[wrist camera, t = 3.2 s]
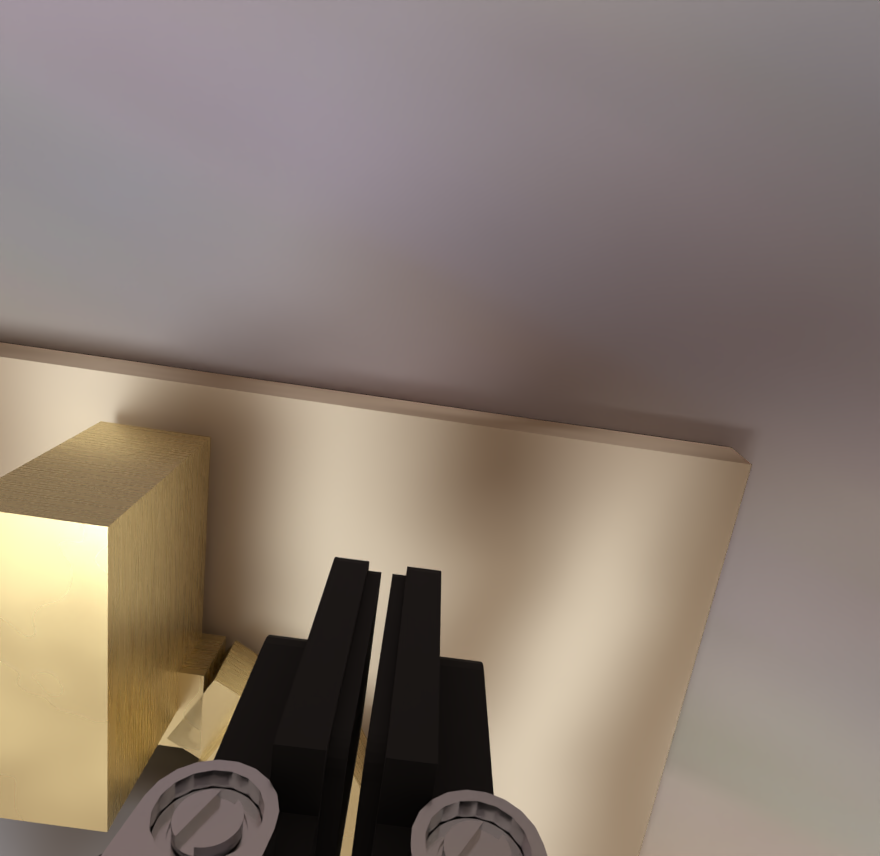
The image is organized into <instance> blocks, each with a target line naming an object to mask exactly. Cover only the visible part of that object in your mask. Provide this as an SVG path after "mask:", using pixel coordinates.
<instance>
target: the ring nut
mask: <svg viewBox="0 0 880 856" xmlns="http://www.w3.org/2000/svg"><path fill="white" fill-rule="evenodd" d="M210 452H211V437H208V436H201V435H194V434H187V433H180V432H173V431H166V430H159V429H152V428H145V427H138V426H131V425H124V424H117V423H110V422H103V421H100V422H99V423H97V424H95V425H93V426H91V427H90V428H88V429H86V430H84V431H82V432H81V433H79V434H77V435H75V436H74V437H72V438H70V439H68V440H66V441H65V442H63V443H61V444H59V445H57V446H56V447H54V448H52V449H50V450H49V451H47V452H45V453H43V454H41V455H40V456H38V457H36V458H34V459H32V460H31V461H29V462H27V463H25V464H24V465H22V466H20V467H18V468H16V469H15V470H13V471H11V472H9V473H7V474H6V475H4V476H2V477H0V818H5V819H12V820H20V821H27V822H35V823H42V824H50V825H57V826H64V827H72V828H79V829H87V830H94V831H102V832H108V830H109V828H110V827H111V825H112V823H113V822H114V820H115V818H116V816H117V815H118V813H119V811H120V809H121V808H122V806H123V804H124V802H125V801H126V799H127V797H128V795H129V794H130V792H131V790H132V789H133V787H134V785H135V783H136V782H137V780H138V778H139V776H140V775H141V773H142V771H143V769H144V768H145V766H146V764H147V763H148V761H149V759H150V757H151V756H152V754H153V752H154V750H155V749H156V747H157V745H164V746H171V747H179V748H183V749H185V750H186V751H188V752H190V753H191V754H193V755H194V756H196V757H198V758H199V760H198V762H203V761H211V760H214V758H215V755H216V753H217V751H218V748H219V746H220V744H221V741H222V739H223V737H224V734H225V732H226V730H227V727H228V725H229V723H230V720H231V718H232V716H233V713H234V711H235V709H236V706H237V704H238V702H239V699H240V697H241V695H242V692H243V690H244V687H245V685H246V683H247V680H248V678H249V676H250V673H251V671H252V669H253V666H254V664H255V662H256V659H257V657H258V654H256V653H255V652H253V651H252V650H250V649H249V648H247V647H246V646H244V645H243V644H241V643H240V642H238V641H237V640H235V642H234V643H233V644H232V645H231V647H230V648H229V649H228V650H227V652H226V653H225V648H226V636H220V635H213V634H205V633H202V621H203V600H204V579H205V558H206V537H207V515H208V494H209V473H210ZM366 744H367V737H366V735H365V733H364V731H363V729H362V727H361V733H360V740H359V746H358V752H357V758H356V764H355V770H354V775H353V781H352V787H351V793H350V799H349V805H348V811H347V817H346V823H345V829H344V835H343V841H342V847H341V853H340V856H351V854H352V847H353V839H354V832H355V825H356V817H357V810H358V802H359V795H360V787H361V780H362V772H363V765H364V758H365V751H366Z"/></svg>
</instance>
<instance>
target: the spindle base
mask: <svg viewBox="0 0 880 856" xmlns="http://www.w3.org/2000/svg"><path fill="white" fill-rule="evenodd" d="M100 421H103V422H110V423H117V424H124V425H131V426H138V427H145V428H152V429H159V430H166V431H173V432H180V433H187V434H194V435H201V436H208V437H211V452H210V473H209V494H208V515H207V537H206V558H205V579H204V600H203V621H202V633H205V634H213V635H220V636H226V648H225V653H226V652H227V650H228V649H229V648H230V647H231V645H232V644H233V643H234V642H235V640H237V641H238V642H240V643H241V644H243V645H244V646H246V647H247V648H249V649H250V650H252V651H253V652H255V653H256V654H258V655H259V652H260V650H261V648H262V645H263V643H264V641H265V639H266V637H267V636H268V635H277V636H285V637H293V638H300V639H308V636H309V633H310V630H311V627H312V624H313V621H314V618H315V615H316V612H317V609H318V606H319V603H320V600H321V597H322V594H323V591H324V588H325V585H326V582H327V579H328V575H329V572H330V569H331V566H332V563H333V560H334V558H335V557H340V558H348V559H356V560H363V561H369V571H376V572H382V573H381V582H380V590H379V597H378V605H377V613H376V620H375V628H374V636H373V643H372V651H371V659H370V666H369V674H368V682H367V689H366V697H365V705H364V713H363V720H362V729H363V731H364V733H365V735H366V737H367V738H368V731H369V724H370V718H371V711H372V705H373V698H374V692H375V685H376V679H377V672H378V666H379V659H380V653H381V646H382V639H383V633H384V626H385V620H386V613H387V607H388V600H389V594H390V587H391V581H392V574H399V575H406V572H407V566H409V567H416V568H424V569H432V570H439V571H441V628H440V656H441V657H449V658H457V659H465V660H473V661H481V662H482V663H483V667H484V676H485V689H486V702H487V714H488V727H489V740H490V753H491V765H492V778H493V791H494V795H495V796H497V797H500V798H502V799H505V800H506V801H508V802H509V803H511V804H512V805H514V806H515V807H517V808H518V809H519V810H521V811H522V812H523V813H524V814H525V815H526V817H527V818H528V819H529V820H530V821H531V822H532V823H533V824H534V826H535V827H536V829H537V831H538V833H539V835H540V837H541V839H542V841H543V843H544V846H545V850H546V853H547V856H639V853H640V850H641V846H642V843H643V839H644V836H645V832H646V829H647V825H648V822H649V818H650V815H651V812H652V808H653V805H654V801H655V798H656V794H657V791H658V787H659V784H660V780H661V777H662V774H663V770H664V767H665V763H666V760H667V756H668V753H669V749H670V746H671V742H672V739H673V736H674V732H675V729H676V725H677V722H678V718H679V715H680V711H681V708H682V704H683V701H684V698H685V694H686V691H687V687H688V684H689V680H690V677H691V673H692V670H693V666H694V663H695V660H696V656H697V653H698V649H699V646H700V642H701V639H702V635H703V632H704V628H705V625H706V622H707V618H708V615H709V611H710V608H711V604H712V601H713V597H714V594H715V590H716V587H717V584H718V580H719V577H720V573H721V570H722V566H723V563H724V559H725V556H726V552H727V549H728V545H729V542H730V539H731V535H732V532H733V528H734V525H735V521H736V518H737V514H738V511H739V507H740V504H741V501H742V497H743V494H744V490H745V487H746V483H747V480H748V476H749V473H750V469H751V466H752V464H750V463H749V462H748V461H747V460H746V459H745V458H743V457H742V456H741V455H740V454H739V453H737V452H736V451H735V450H734V449H733V448H731V447H724V446H717V445H710V444H703V443H696V442H689V441H682V440H675V439H668V438H662V437H655V436H648V435H641V434H634V433H627V432H620V431H613V430H606V429H599V428H592V427H585V426H578V425H571V424H564V423H557V422H550V421H543V420H537V419H530V418H523V417H516V416H509V415H502V414H495V413H488V412H481V411H474V410H467V409H460V408H453V407H446V406H439V405H432V404H425V403H418V402H411V401H405V400H398V399H391V398H384V397H377V396H370V395H363V394H356V393H349V392H342V391H335V390H328V389H321V388H314V387H307V386H300V385H293V384H286V383H280V382H273V381H266V380H259V379H252V378H245V377H238V376H231V375H224V374H217V373H210V372H203V371H196V370H189V369H182V368H175V367H168V366H161V365H155V364H148V363H141V362H134V361H127V360H120V359H113V358H106V357H99V356H92V355H85V354H78V353H71V352H64V351H57V350H50V349H43V348H36V347H30V346H23V345H16V344H9V343H2V342H0V477H2V476H4V475H6V474H7V473H9V472H11V471H13V470H15V469H16V468H18V467H20V466H22V465H24V464H25V463H27V462H29V461H31V460H32V459H34V458H36V457H38V456H40V455H41V454H43V453H45V452H47V451H49V450H50V449H52V448H54V447H56V446H57V445H59V444H61V443H63V442H65V441H66V440H68V439H70V438H72V437H74V436H75V435H77V434H79V433H81V432H82V431H84V430H86V429H88V428H90V427H91V426H93V425H95V424H97V423H99V422H100ZM198 760H199V758H198V757H196V756H194V755H193V754H191V753H190V752H188V751H186V750H185V749H183V748H179V747H171V746H164V745H157V747H156V749H155V750H154V752H153V754H152V756H151V757H150V759H149V761H148V763H147V764H146V766H145V768H144V769H143V771H142V773H141V775H140V776H139V778H138V780H137V782H136V783H135V785H134V787H133V789H132V790H131V792H130V794H129V795H128V797H127V799H126V801H125V802H124V804H123V806H122V808H121V809H120V811H119V813H118V815H117V816H116V818H115V820H114V822H113V823H112V825H111V827H110V828H109V830H108V832H102V831H94V830H87V829H79V828H72V827H64V826H57V825H50V824H42V823H35V822H27V821H20V820H12V819H5V818H0V856H99V855H101V854H102V853H103V852H104V851H105V849H106V848H107V847H108V845H109V844H110V842H111V841H112V840H113V838H114V837H115V835H116V834H117V833H118V831H119V830H120V829H121V827H122V826H123V824H124V823H125V822H126V820H127V819H128V817H129V816H130V815H131V813H132V812H133V811H134V809H135V808H136V806H137V805H138V804H139V802H140V801H141V799H142V798H143V797H144V796H145V794H146V793H147V792H148V791H149V790H150V789H151V788H152V787H153V786H154V785H155V784H156V783H157V782H158V781H159V780H161V779H162V778H164V777H166V776H167V775H169V774H170V773H172V772H173V771H175V770H177V769H179V768H182V767H185V766H188V765H191V764H194V763H196V762H198Z"/></svg>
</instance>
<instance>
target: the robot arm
mask: <svg viewBox="0 0 880 856" xmlns="http://www.w3.org/2000/svg"><path fill="white" fill-rule="evenodd" d="M381 573H382V572H376V571H369V561H363V560H356V559H348V558H340V557H335V558H334V560H333V563H332V566H331V569H330V572H329V575H328V579H327V582H326V585H325V588H324V591H323V594H322V597H321V600H320V603H319V606H318V609H317V612H316V615H315V618H314V621H313V624H312V627H311V630H310V633H309V636H308V639H300V638H293V637H285V636H277V635H268V636H267V637H266V639H265V641H264V643H263V645H262V648H261V650H260V652H259V655H258V657H257V659H256V662H255V664H254V666H253V669H252V671H251V673H250V676H249V678H248V680H247V683H246V685H245V687H244V690H243V692H242V695H241V697H240V699H239V702H238V704H237V706H236V709H235V711H234V713H233V716H232V718H231V720H230V723H229V725H228V727H227V730H226V732H225V734H224V737H223V739H222V741H221V744H220V746H219V748H218V751H217V753H216V755H215V758H214V760H211V761H203V762H196V763H194V764H191V765H188V766H185V767H182V768H179V769H177V770H175V771H173V772H172V773H170V774H169V775H167V776H166V777H164V778H162V779H161V780H159V781H158V782H157V783H156V784H155V785H154V786H153V787H152V788H151V789H150V790H149V791H148V792H147V793H146V794H145V796H144V797H143V798H142V799H141V801H140V802H139V804H138V805H137V806H136V808H135V809H134V811H133V812H132V813H131V815H130V816H129V817H128V819H127V820H126V822H125V823H124V824H123V826H122V827H121V829H120V830H119V831H118V833H117V834H116V835H115V837H114V838H113V840H112V841H111V842H110V844H109V845H108V847H107V848H106V849H105V851H104V852H103V853H102V854H101V855H99V856H340V853H341V847H342V841H343V835H344V829H345V823H346V817H347V811H348V805H349V799H350V793H351V787H352V781H353V775H354V770H355V764H356V758H357V752H358V746H359V740H360V733H361V727H362V720H363V713H364V705H365V697H366V689H367V682H368V674H369V666H370V659H371V651H372V643H373V636H374V628H375V620H376V613H377V605H378V597H379V590H380V582H381ZM440 628H441V571H439V570H432V569H424V568H416V567H409V566H407V572H406V575H399V574H392V581H391V587H390V594H389V600H388V607H387V613H386V620H385V626H384V633H383V639H382V646H381V653H380V659H379V666H378V672H377V679H376V685H375V692H374V698H373V705H372V711H371V718H370V724H369V731H368V738H367V744H366V751H365V758H364V765H363V772H362V780H361V787H360V795H359V802H358V810H357V817H356V825H355V832H354V839H353V847H352V854H351V856H547V853H546V850H545V846H544V843H543V841H542V839H541V837H540V835H539V833H538V831H537V829H536V827H535V826H534V824H533V823H532V822H531V821H530V820H529V819H528V818H527V817H526V815H525V814H524V813H523V812H522V811H521V810H519V809H518V808H517V807H515V806H514V805H512V804H511V803H509V802H508V801H506V800H505V799H502V798H500V797H497V796H495V795H494V791H493V778H492V765H491V753H490V740H489V727H488V714H487V702H486V689H485V676H484V667H483V663H482V662H481V661H473V660H465V659H457V658H449V657H441V656H440Z"/></svg>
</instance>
